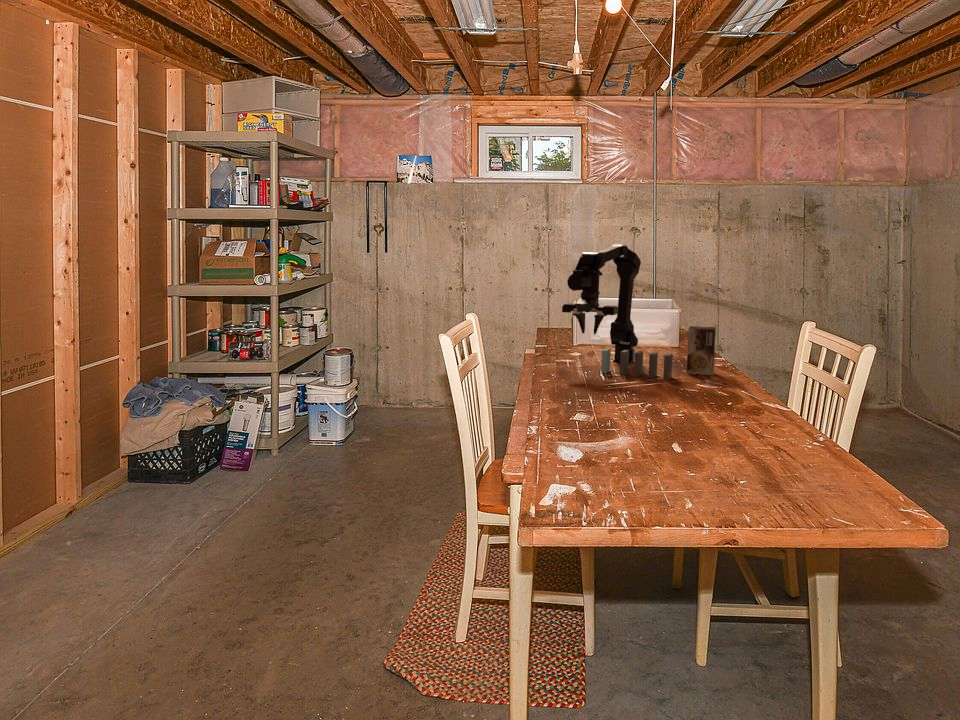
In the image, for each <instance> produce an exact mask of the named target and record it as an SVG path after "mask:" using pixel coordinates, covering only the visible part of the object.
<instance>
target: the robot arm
mask: <svg viewBox="0 0 960 720" xmlns="http://www.w3.org/2000/svg"><path fill="white" fill-rule="evenodd" d="M610 261H612V262H613V263H614V264H615V267H616V273H617V275H618V277H619V289H618V299H617V300H618V302H617V305H608V304H607V305H604V306H600V303H599V297H600V295H601V294H600V276H603V272H602V271H600V270H601V269H602V268H603V267H605V266H606V263H607V262H610ZM641 264H642V263H641V258H640V257H639V256H638V254H637V253H636V252H634V251H633V250H631V249H630V248H629V247H628V246H627V245H625V244H622V243H621V244H620V243H619V244H618V243H617V244H613V245H611V246H609V247H606V248H603V249H601V250H598V251H584V252H582V253H581V255H580V257H579V259H578V262H577V264H576V266H575V269H573V270H572V273H571V275H569V276H568V279H567V281H566V282H567V283H566V284H567V287H568V288H569V289H570V290H571V291H573V292H575V291H582V292H580V298H578V300H577V301H576V302H574V303H573V302H572V303H570V302H567V303H564V304H562V306H561V313H568V314H570V313H572V312H573V313H572V316H574V317H576V319H577V321H578V324H579V327H580V330H581V333H582V334H585V331H586V313H596V314H595V315H594V322H593V323H594V325H593V335H597V332H598V329H599V327H600V325H601V323H602V321H603V319H604V317H607V316H615V315H616V318H615V320H614V321H611V323H610V330H609V337H610V343H611V345H613V346H614V359H613V360H612V362H613V363H620V352H621V351H623V350H629V364H631V363H633V362H634V361H635V353H636V350H635V349H634V348H635V347H638V344H639V339H638V337H637V335H636V333H635V325H634V324H633V321H632V320H631V313H632V302H633V301H632V300H633V292H634V280H635V278H636V277H637V276H638V274H639V271H640V268H641Z"/></svg>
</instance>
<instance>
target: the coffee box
mask: <svg viewBox="0 0 960 720" xmlns="http://www.w3.org/2000/svg"><path fill="white" fill-rule="evenodd" d="M687 330H688V331H687V333H688V334H687V354H686V373H685V374H686V375H696V374H699V375H698V376H714V373H715V357H716V356H715V355H716V334H717V327H716V326H688V329H687Z"/></svg>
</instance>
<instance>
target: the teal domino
mask: <svg viewBox="0 0 960 720" xmlns="http://www.w3.org/2000/svg"><path fill="white" fill-rule="evenodd" d="M611 350H612V348H607V347H606V348H605V349H602V350H601V366H600V367H601V370H600V372H601V373H600V374H604V373H605V374H607V372H608V373H609V371H610V372H611V356H612V354H611V352H612V351H611Z"/></svg>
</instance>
